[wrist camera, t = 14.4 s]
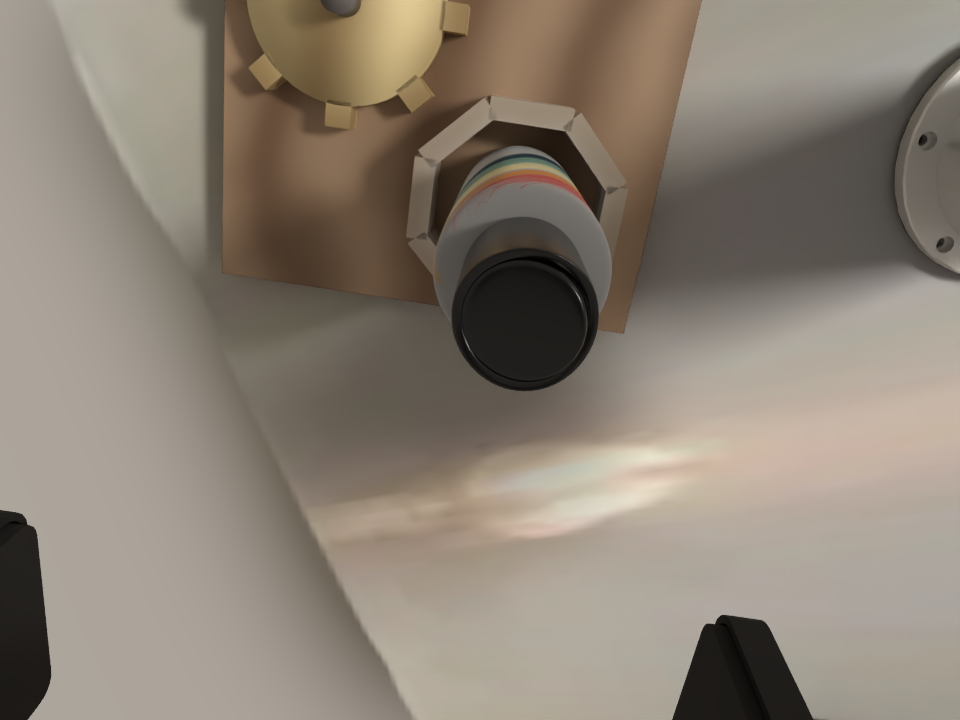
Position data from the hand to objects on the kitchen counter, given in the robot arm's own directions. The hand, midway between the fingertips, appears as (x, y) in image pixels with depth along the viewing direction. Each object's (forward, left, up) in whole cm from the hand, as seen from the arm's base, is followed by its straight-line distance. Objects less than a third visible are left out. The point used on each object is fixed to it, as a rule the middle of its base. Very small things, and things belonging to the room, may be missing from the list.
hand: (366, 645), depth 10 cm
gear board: (+2, -6, -30) cm, 31 cm away
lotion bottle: (-2, -2, -29) cm, 29 cm away
